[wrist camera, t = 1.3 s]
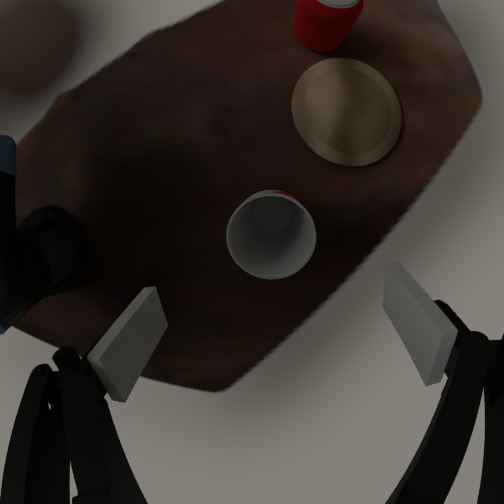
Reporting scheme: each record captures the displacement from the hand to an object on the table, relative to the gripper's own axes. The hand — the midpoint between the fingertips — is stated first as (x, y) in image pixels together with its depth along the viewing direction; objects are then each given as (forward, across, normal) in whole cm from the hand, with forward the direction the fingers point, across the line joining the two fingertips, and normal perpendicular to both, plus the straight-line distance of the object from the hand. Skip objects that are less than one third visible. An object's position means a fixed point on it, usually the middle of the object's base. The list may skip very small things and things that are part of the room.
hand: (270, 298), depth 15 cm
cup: (+21, 0, 0) cm, 21 cm away
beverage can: (+21, +9, +23) cm, 32 cm away
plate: (+21, +11, +12) cm, 26 cm away
